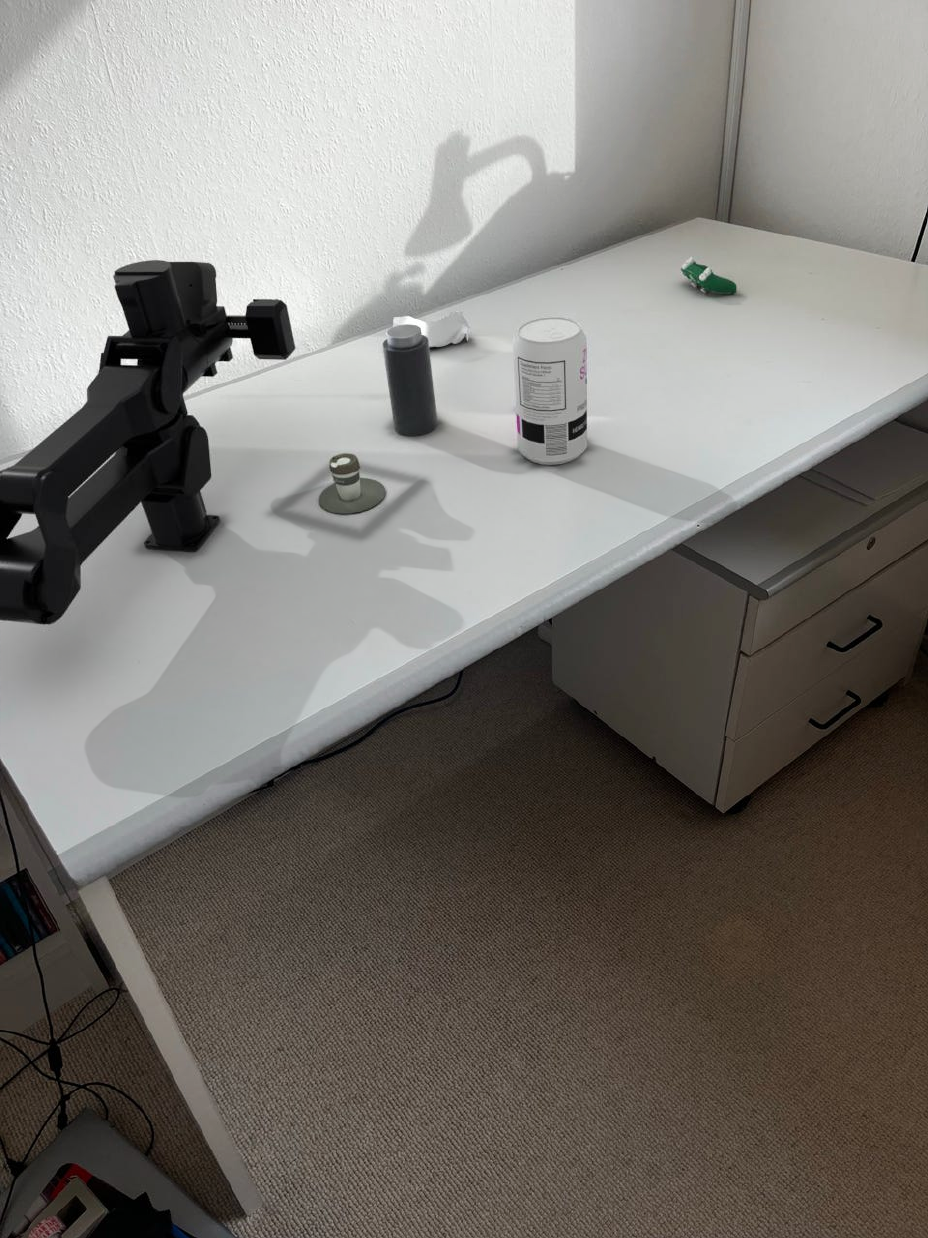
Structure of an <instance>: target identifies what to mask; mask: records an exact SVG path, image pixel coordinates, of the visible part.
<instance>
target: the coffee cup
mask: <svg viewBox="0 0 928 1238" xmlns="http://www.w3.org/2000/svg"><path fill="white" fill-rule="evenodd" d="M360 469H361V465H360V461H359V458H358V457H357V456H356V455H355V454H353V453H347V452H345V453H339V454H336V455H333V456H332V457H331V458H330V459H329V471H330V473H331V476H332V480H333V483H332V484H330V485H328V486H327V487H326V488H325V489H323V490H322V491H321V493H320V494H319V496H318V504H319V506H320V507H321V508H322V509H323V510H325V511H326V512H329V513H332V514H337V515H352V514H359V513H362V512H365V511H368V510H371V509H373V508H375V507H376V506H378V505H379V504H380V503H381V502H382V501H383V499H384V497H385V496H386V487H385V486H384V485H383V483H381V482H380V481H378V480H376V479H372V478H370V477H369V478H368V477H360V476H361V475H360Z"/></svg>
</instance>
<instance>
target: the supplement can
mask: <svg viewBox="0 0 928 1238" xmlns="http://www.w3.org/2000/svg"><path fill="white" fill-rule="evenodd" d="M587 341H588V340H587V336H586V334H585V333H584V331H583V329H582V326H581V324H580V323H579V322H578V321H576V320H574V319H572V318H569V317H568V318H567V317H562V316H546V317H538V318H534V319H530V320H527V321H526V322H524V323H522V324H521V325H520V326H519V327H518V328H517V333H516V335H515V337H514V339H513V341H512V359H513V377H514V378H513V379H514V380H513V381H514V395H515V398H514V399H515V414H516V432H517V447H518V448H517V450H518V452H520V454H521V456H524V457H525V458H526V459H527V460H529V461H530V462H532V463H535V464H538V465H545V466H546V465H548V466H554V465H556V466H557V465H562V464H567V463H569V462H572V461H574V460H576V459H577V458H579V457H580V455H582V454H583V453H584V452H585V451H586V449H587V448H588V367H587V366H588V363H587V359H588V355H587V353H588V348H587V347H588V346H587V345H588V344H587V343H588V342H587Z"/></svg>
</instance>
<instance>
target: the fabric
mask: <svg viewBox="0 0 928 1238" xmlns="http://www.w3.org/2000/svg"><path fill="white" fill-rule="evenodd" d="M392 323H393V324H392V327H395V326H398V325H404V324H412V325H417V326H419V327H420V328H421V332H422V335H424V336H426V337H427V338H428V342H429V348H434V347H436V348H440V347H441V348H442V347H445V346H448V345H450V344H454V345H455V344H456V345H457V344H459V343H461V342H462V341H463V340H464V338H465V337H466V342H467V343H468V342H469V336H470V334H471V331H470V329H471V328H470V326H469V325H468V322H467V321H466V319H465V317H464V315H463V312H462V311H461V310H458V311H451V312H450V313H449V315H447V316H444V317H442V318H441V319H438V320H436V321H430V322H426V321H423V320H420V319H417V318H414V317H411V316H409V315H404V316H394V317H393V322H392Z"/></svg>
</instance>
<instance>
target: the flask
mask: <svg viewBox="0 0 928 1238" xmlns="http://www.w3.org/2000/svg"><path fill="white" fill-rule="evenodd" d="M381 345H382V353H383V359H384V366H385V367H384V368H385V373H386V380H387V387H388V395H389V400H390V407H391V414H392V422H393V428H394V431H395V432H396V433H397V434H399V435H402V436H404V437H405V436H406V437H418V436H419V437H420V436H424V435H427V434H429V433H432V432H433V431H434V430H436V429H437V427H438V425H439V422H438V411H437V405H436V396H435V387H434V386H435V385H434V378H433V370H432V359H431V352H430V351H431V350H430V347H429V342H428V338H427V337H426V336H424V335H422V332H421V328H420V327H419V326H417V325H412V324H404V325H398V326H395V327H393V326H392V327H390V328H389V329H388V330H387V331H386V339H385V340H384V341H383V342H382V344H381Z"/></svg>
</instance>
